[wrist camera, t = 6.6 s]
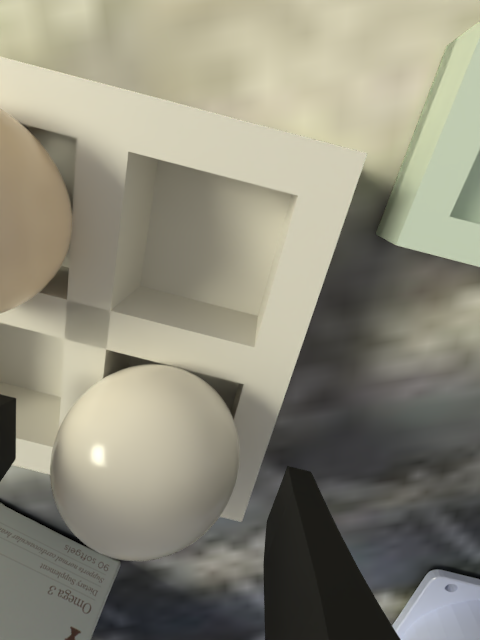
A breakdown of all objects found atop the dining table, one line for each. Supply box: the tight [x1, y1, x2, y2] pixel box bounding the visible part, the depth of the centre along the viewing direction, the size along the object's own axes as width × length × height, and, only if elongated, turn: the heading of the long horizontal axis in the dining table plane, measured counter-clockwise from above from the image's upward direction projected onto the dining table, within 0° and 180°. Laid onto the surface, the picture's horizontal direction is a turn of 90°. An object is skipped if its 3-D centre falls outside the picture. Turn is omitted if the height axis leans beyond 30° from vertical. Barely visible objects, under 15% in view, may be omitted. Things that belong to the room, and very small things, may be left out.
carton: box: [0, 57, 367, 522], centre depth 11 cm, size 12×12×3 cm
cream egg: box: [50, 364, 240, 561], centre depth 10 cm, size 5×5×5 cm
